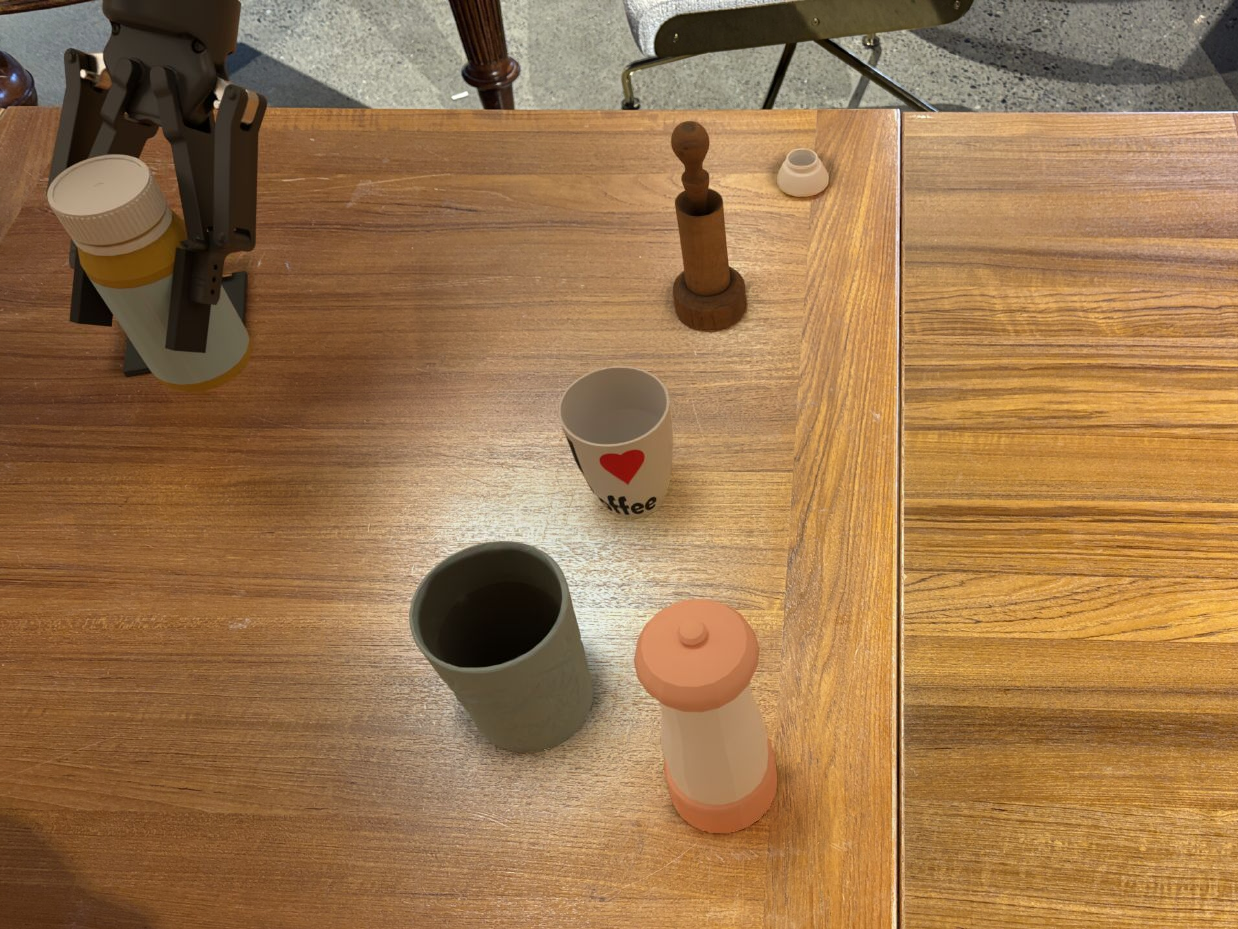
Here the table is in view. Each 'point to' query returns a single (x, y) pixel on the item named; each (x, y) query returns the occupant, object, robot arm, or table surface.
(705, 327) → the mortar and pestle
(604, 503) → the cup
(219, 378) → the bottle
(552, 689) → the grey cylindrical pot
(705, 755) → the pepper shaker
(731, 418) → the table surface
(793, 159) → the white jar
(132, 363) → the mat
